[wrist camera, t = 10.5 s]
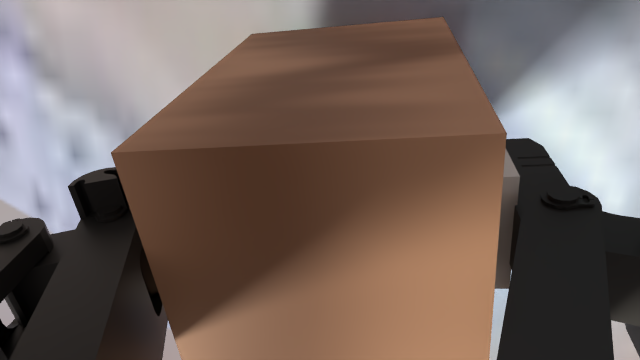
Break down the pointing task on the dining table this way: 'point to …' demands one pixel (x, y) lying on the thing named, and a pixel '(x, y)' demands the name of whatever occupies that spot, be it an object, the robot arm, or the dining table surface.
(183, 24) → the dining table surface
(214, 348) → the wooden block
